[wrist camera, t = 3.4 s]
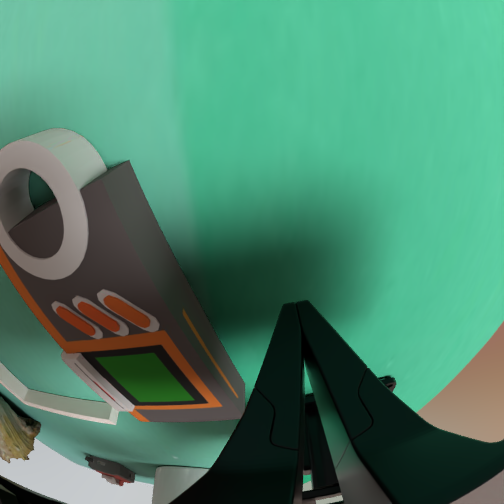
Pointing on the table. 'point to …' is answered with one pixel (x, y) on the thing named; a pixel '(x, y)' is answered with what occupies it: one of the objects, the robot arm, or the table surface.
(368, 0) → the table surface
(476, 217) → the table surface
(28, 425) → the seashell
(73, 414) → the docking bay
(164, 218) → the table surface
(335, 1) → the table surface
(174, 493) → the utensil holder
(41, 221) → the electronic device
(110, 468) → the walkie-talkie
